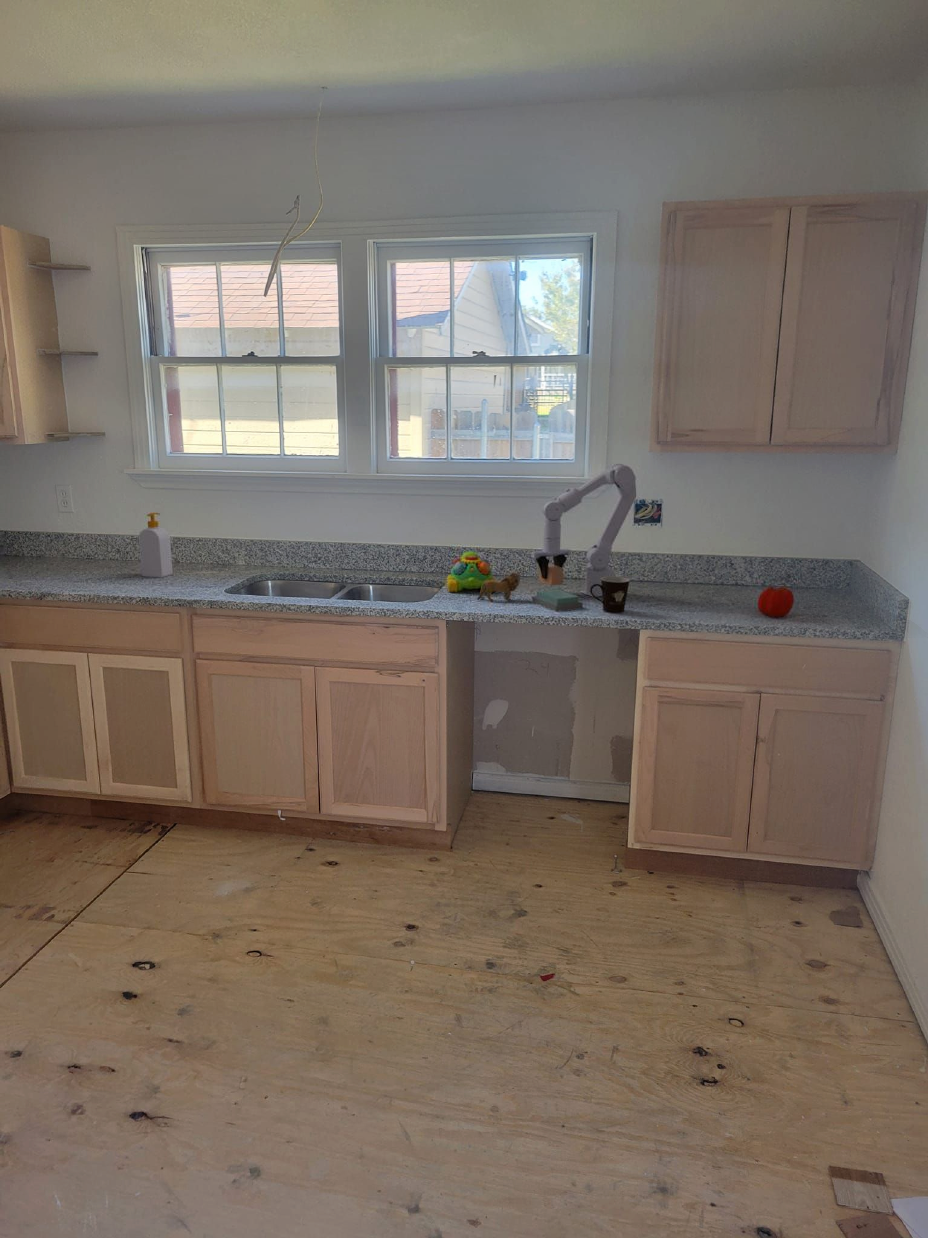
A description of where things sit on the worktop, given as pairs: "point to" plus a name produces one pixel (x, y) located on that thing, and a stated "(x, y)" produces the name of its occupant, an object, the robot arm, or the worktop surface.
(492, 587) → the lion figurine
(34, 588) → the worktop surface
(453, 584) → the turtle toy
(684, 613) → the worktop surface
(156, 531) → the soap bottle
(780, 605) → the tomato
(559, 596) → the green-topped grey block
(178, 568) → the worktop surface
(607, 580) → the coffee mug
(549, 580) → the terracotta brick
